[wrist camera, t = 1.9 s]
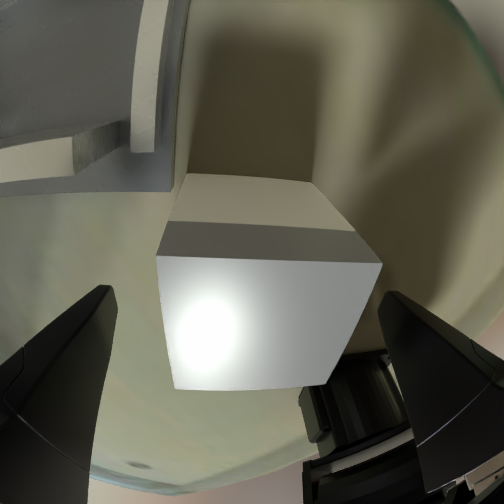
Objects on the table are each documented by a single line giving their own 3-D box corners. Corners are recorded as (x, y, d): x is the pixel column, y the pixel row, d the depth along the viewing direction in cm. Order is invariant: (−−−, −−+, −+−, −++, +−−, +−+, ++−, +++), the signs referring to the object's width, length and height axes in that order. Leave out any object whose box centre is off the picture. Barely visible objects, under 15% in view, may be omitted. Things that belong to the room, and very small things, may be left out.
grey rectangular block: (310, 182, 11) (383, 263, 6) (290, 280, 14) (325, 384, 9) (186, 172, 10) (156, 255, 5) (186, 277, 13) (175, 389, 8)
